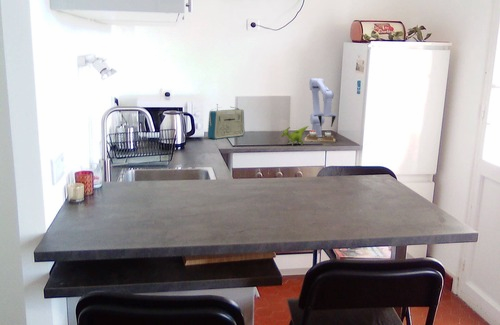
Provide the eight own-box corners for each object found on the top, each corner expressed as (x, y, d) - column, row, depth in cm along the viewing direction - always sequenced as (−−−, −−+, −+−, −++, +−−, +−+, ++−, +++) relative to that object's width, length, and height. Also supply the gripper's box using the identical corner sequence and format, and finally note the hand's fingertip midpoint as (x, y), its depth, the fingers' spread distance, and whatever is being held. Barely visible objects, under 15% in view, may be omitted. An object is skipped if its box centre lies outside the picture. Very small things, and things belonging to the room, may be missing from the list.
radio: (213, 139, 344) (213, 105, 339) (207, 138, 350) (207, 104, 345) (245, 136, 364) (245, 103, 358) (238, 134, 369) (239, 102, 364)
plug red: (309, 135, 354) (309, 130, 353) (315, 135, 353) (315, 130, 352) (309, 136, 350) (309, 131, 349) (315, 136, 349) (315, 131, 348)
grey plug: (324, 135, 352) (325, 130, 351) (330, 136, 352) (331, 131, 351) (324, 136, 348) (324, 131, 347) (330, 137, 347) (331, 132, 346)
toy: (285, 150, 337) (277, 132, 331) (309, 134, 342) (301, 116, 336) (291, 152, 329) (282, 134, 323) (315, 135, 335) (307, 117, 329)
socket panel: (305, 138, 359) (305, 133, 358) (335, 139, 355) (335, 135, 355) (304, 141, 347) (304, 136, 347) (335, 142, 344) (335, 137, 343)
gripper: (317, 107, 345) (316, 126, 348) (337, 108, 342) (336, 127, 345) (317, 106, 351) (316, 125, 354) (337, 107, 349) (336, 126, 352)
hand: (326, 126), depth 350 cm, fingers open, 7 cm apart
